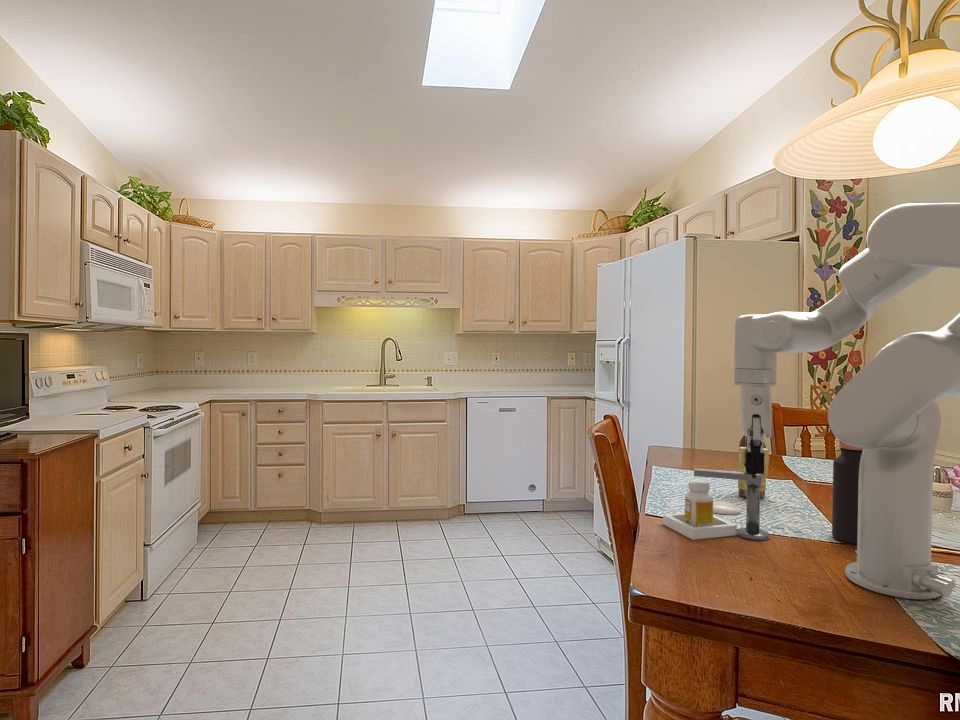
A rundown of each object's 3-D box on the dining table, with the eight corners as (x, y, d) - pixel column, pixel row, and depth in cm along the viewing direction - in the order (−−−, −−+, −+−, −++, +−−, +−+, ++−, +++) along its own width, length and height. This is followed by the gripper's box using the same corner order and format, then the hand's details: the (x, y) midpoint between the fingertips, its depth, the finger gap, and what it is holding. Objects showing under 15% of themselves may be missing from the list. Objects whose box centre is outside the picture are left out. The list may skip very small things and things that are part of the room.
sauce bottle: (762, 500, 140) (763, 418, 139) (734, 496, 144) (736, 416, 143) (768, 495, 145) (769, 416, 144) (741, 491, 149) (742, 414, 148)
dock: (736, 535, 115) (736, 525, 115) (692, 539, 112) (692, 529, 112) (704, 520, 124) (704, 511, 124) (663, 524, 122) (663, 514, 122)
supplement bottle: (717, 529, 118) (717, 482, 118) (706, 535, 115) (707, 487, 114) (691, 523, 122) (691, 478, 122) (680, 529, 118) (680, 482, 118)
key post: (776, 539, 113) (777, 488, 112) (750, 541, 111) (751, 490, 111) (754, 529, 118) (755, 480, 118) (729, 532, 117) (730, 482, 116)
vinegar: (833, 531, 117) (835, 433, 117) (873, 538, 113) (876, 436, 113) (830, 541, 112) (832, 437, 111) (873, 548, 108) (875, 440, 107)
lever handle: (768, 486, 112) (768, 450, 112) (693, 480, 117) (694, 446, 117) (766, 483, 115) (767, 448, 115) (694, 477, 120) (694, 443, 120)
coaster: (748, 513, 130) (748, 509, 130) (718, 515, 128) (718, 512, 128) (724, 503, 138) (724, 500, 138) (695, 505, 135) (695, 502, 135)
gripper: (781, 381, 104) (779, 481, 105) (772, 375, 120) (770, 463, 121) (735, 379, 107) (734, 477, 108) (732, 375, 123) (731, 460, 124)
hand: (753, 468), depth 114 cm, fingers open, 5 cm apart
